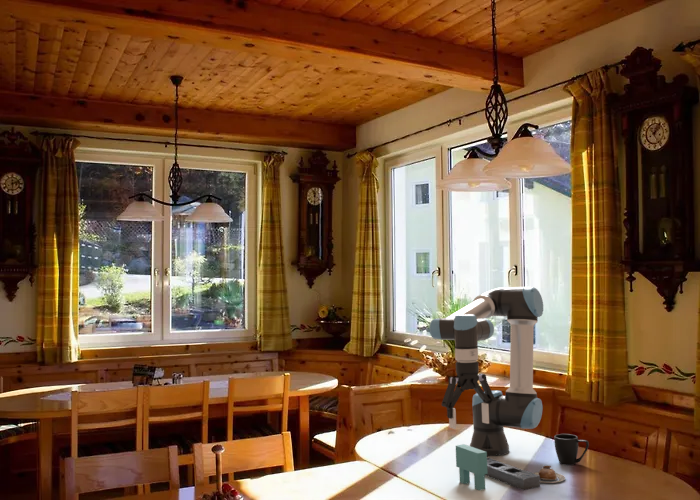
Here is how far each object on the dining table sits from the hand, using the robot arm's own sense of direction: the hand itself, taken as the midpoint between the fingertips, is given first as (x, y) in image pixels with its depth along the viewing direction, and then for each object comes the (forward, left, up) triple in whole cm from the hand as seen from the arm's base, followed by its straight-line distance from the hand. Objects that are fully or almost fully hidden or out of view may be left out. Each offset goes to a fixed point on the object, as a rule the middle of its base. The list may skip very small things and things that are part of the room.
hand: (469, 425), depth 215 cm
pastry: (+8, +25, -20) cm, 33 cm away
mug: (0, +45, -20) cm, 50 cm away
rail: (0, +14, -20) cm, 24 cm away
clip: (0, 0, -20) cm, 20 cm away
